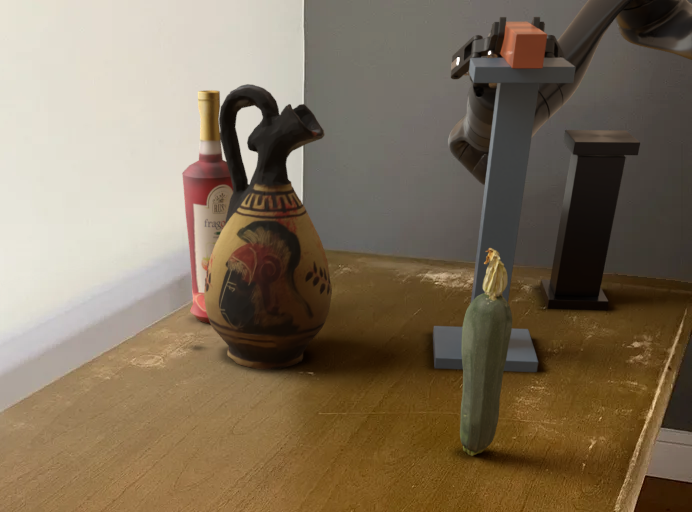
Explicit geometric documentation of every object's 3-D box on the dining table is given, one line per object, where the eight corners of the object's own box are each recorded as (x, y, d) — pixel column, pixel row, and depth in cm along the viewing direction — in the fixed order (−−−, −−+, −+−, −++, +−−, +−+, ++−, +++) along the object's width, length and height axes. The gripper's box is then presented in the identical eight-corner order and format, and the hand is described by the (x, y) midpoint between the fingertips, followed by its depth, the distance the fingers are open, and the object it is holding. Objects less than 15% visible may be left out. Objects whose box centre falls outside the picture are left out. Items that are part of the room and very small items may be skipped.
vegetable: (496, 468, 93) (527, 257, 82) (451, 468, 93) (477, 258, 82) (487, 448, 97) (516, 244, 86) (444, 449, 97) (467, 245, 86)
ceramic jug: (348, 346, 123) (361, 82, 106) (297, 387, 111) (304, 98, 95) (231, 327, 129) (226, 76, 112) (172, 364, 118) (157, 91, 101)
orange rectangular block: (497, 51, 112) (501, 21, 111) (523, 51, 112) (527, 21, 110) (511, 68, 96) (516, 34, 94) (542, 68, 96) (547, 33, 94)
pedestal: (539, 289, 142) (564, 129, 130) (595, 291, 141) (626, 130, 129) (547, 310, 134) (575, 141, 122) (606, 312, 133) (640, 142, 121)
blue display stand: (432, 336, 125) (460, 56, 107) (526, 340, 124) (571, 56, 106) (434, 369, 115) (465, 67, 97) (536, 373, 114) (587, 67, 96)
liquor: (201, 330, 128) (192, 96, 113) (181, 315, 134) (169, 90, 118) (250, 322, 131) (248, 92, 115) (228, 308, 136) (224, 86, 121)
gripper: (552, 127, 122) (582, 60, 105) (440, 126, 123) (451, 60, 106) (557, 66, 121) (588, -11, 104) (444, 66, 123) (456, -10, 106)
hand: (519, 25), depth 105 cm, fingers closed on orange rectangular block, 3 cm apart
